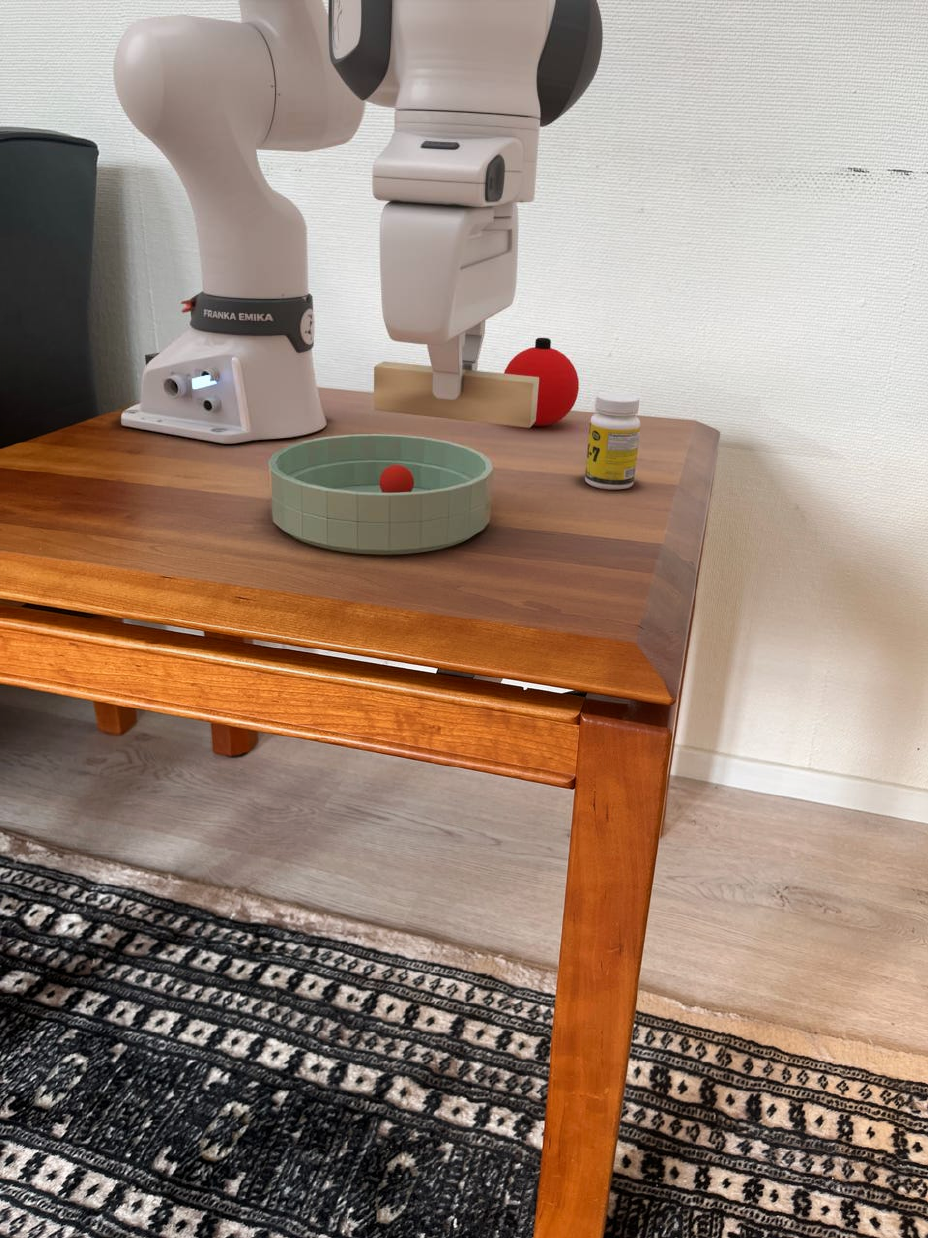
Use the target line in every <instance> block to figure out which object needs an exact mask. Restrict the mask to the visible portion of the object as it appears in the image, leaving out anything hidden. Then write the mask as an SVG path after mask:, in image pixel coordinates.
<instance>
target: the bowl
mask: <svg viewBox="0 0 928 1238" xmlns="http://www.w3.org/2000/svg"><path fill="white" fill-rule="evenodd" d="M267 463H268V464H267V465H268V487H269V509H270V510H269V511H270V512H269V513H270V516H271V519H272V523H274V524H275V525H276V526H277V527H278V528H279V529H281V530H282V531H283V532H285V533H287V534H288V535H290V536H291V537H292V538H294V539H296V540H299V541H301V542H303V543H306V544H308V545H311V546H315V547H318V548H321V549H327V550H331V551H336V552H342V553H350V554H358V555H359V554H360V555H381V556H385V555H388V556H389V555H390V556H391V555H409V554H419V553H426V552H432V551H437V550H443V549H446V548H450V547H453V546H456V545H458V544H462V543H463V542H466V541H468V540H470V539H471V538H472V537H474V536H475V535H476V534H478V533H480V532H482V531H483V530H485V528H486V527H487V526H488V524H489V523H490V521H491V517H492V516H491V515H492V500H493V499H492V496H493V495H492V494H493V479H494V467H493V462H492V460H491V459H489V457H488V456H486V454H485V453H482V452H480V451H478V450H476V449H474V448H472V447H471V446H470V447H469V446H466V445H463V444H460V443H456V442H453V441H449V440H443V439H438V438H431V437H425V436H417V435H416V436H415V435H406V434H385V433H361V434H358V433H357V434H343V435H333V436H323V437H318V438H313V439H308V440H307V439H306V440H302V441H300V442H296V443H293V444H290V445H287V446H284V447H282V448H281V449H279V450H277V451H276V452H274V453H273V454H272V455H271V457H270V459H269V460H268V461H267ZM392 465H401V466H404V467H406V468H407V469H408V470H409V471H410V472H411V474H412V476H413V479H414V486H413V489H412V491H411V492H399V493H383V492H382V490H381V488H380V484H379V480H380V476H381V474H382V472H383V471H384V470H385V469H386V468H387V467H389V466H392Z"/></svg>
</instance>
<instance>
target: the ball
mask: <svg viewBox="0 0 928 1238" xmlns="http://www.w3.org/2000/svg"><path fill="white" fill-rule="evenodd" d="M379 484H380V488H381V490H382V492H383V493H399V492H411V491H412V489H413V486H414V479H413V476H412V474H411V472H410V471H409V470H408V469H407V468H406V467H404V466H401V465H392V466H389V467H387V468H386V469H385V470H384V471H383V472H382V474H381V476H380V480H379Z"/></svg>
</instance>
